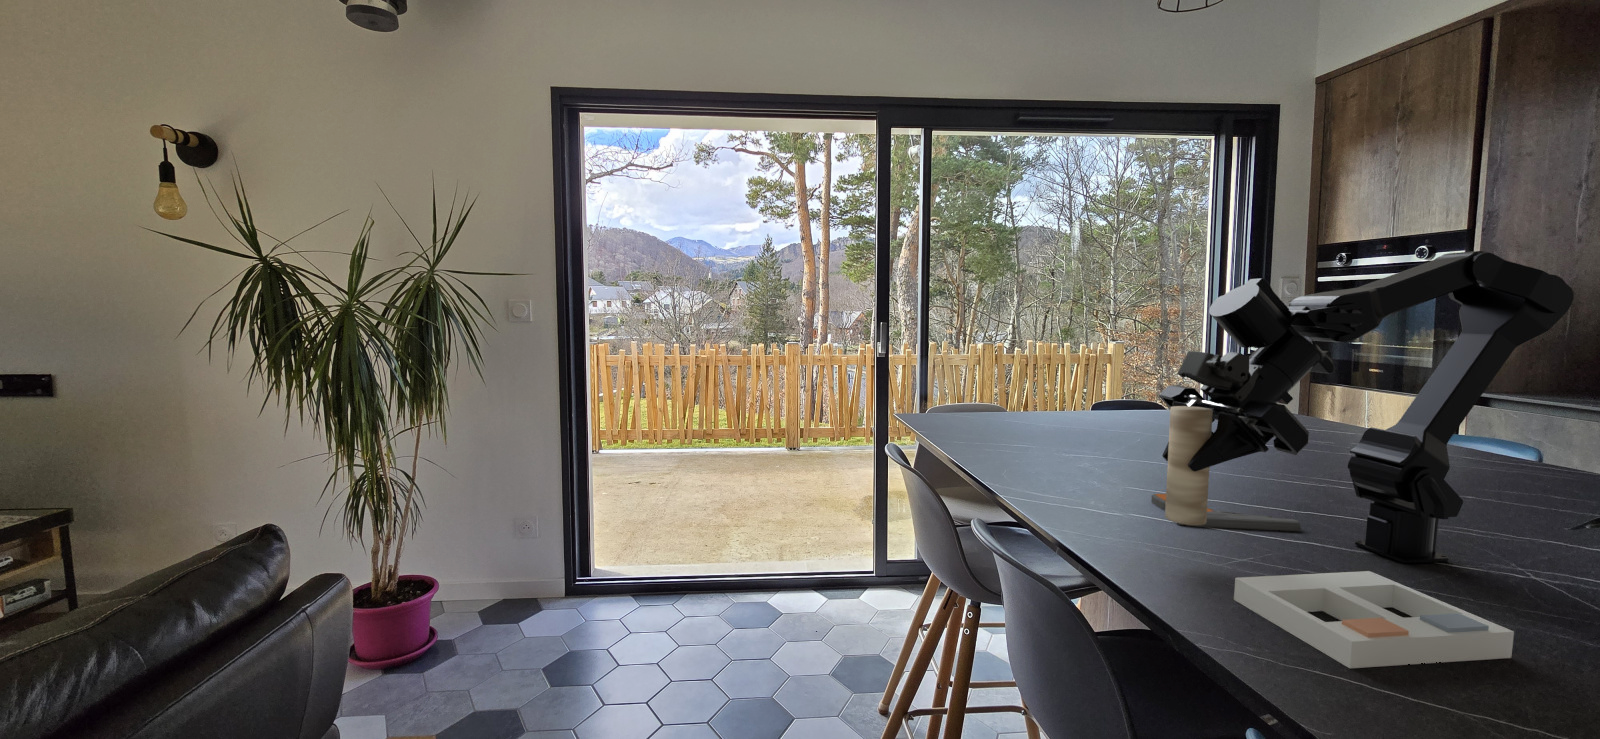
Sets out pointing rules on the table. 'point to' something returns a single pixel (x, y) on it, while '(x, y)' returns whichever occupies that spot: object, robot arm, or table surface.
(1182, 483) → the plug
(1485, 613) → the table surface
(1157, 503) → the orange-tipped hinged bar
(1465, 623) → the socket board
